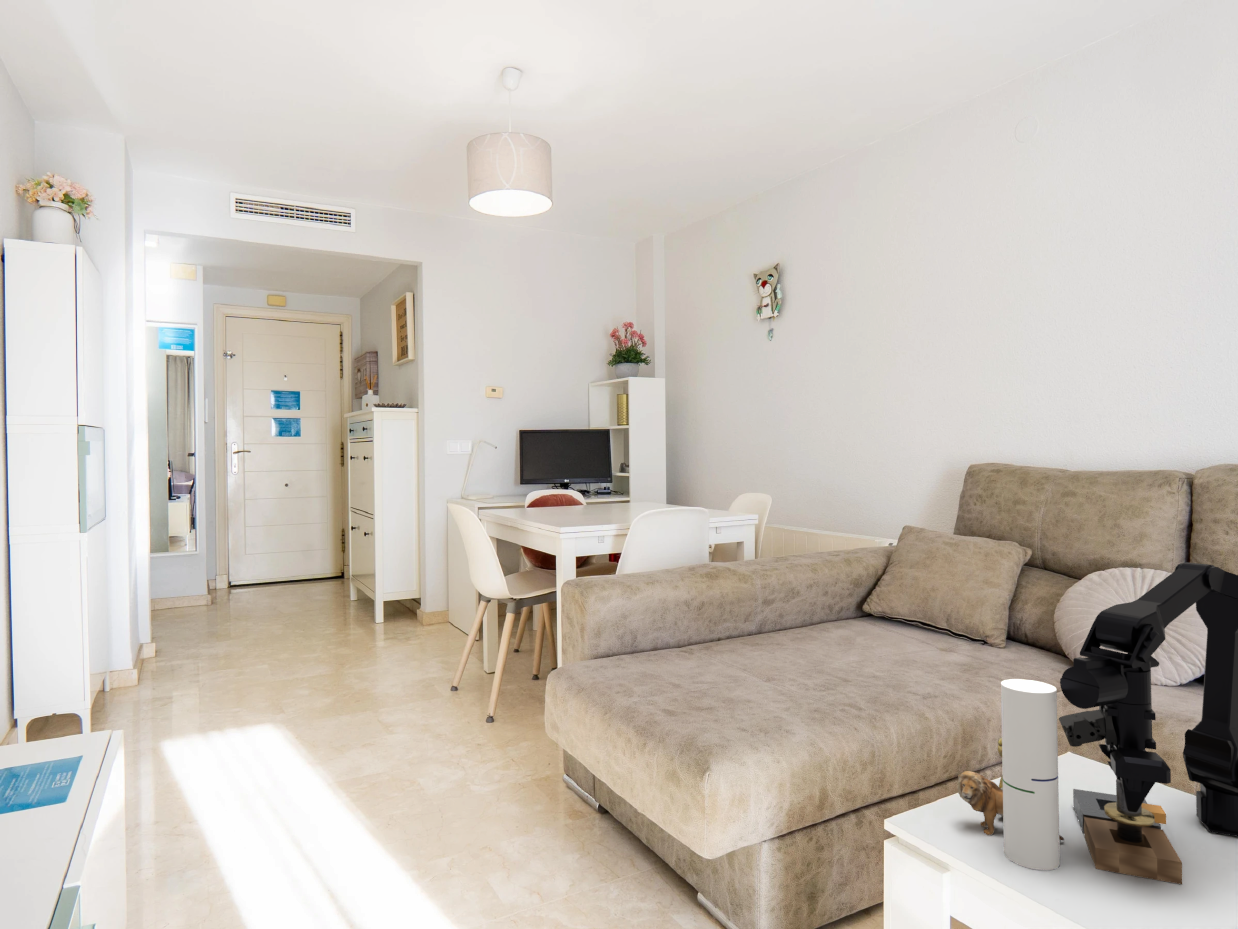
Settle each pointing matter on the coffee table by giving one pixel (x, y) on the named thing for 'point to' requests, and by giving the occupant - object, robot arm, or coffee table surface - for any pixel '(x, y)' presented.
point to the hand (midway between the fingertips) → (1129, 806)
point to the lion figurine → (982, 797)
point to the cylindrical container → (1030, 773)
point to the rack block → (1132, 852)
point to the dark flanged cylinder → (1128, 817)
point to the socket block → (1095, 806)
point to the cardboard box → (1156, 812)
